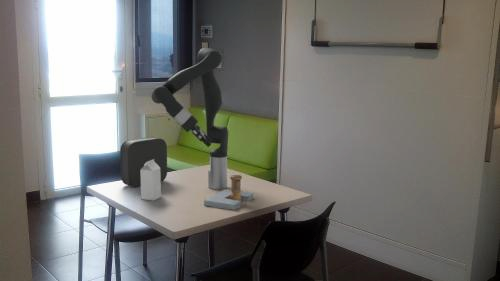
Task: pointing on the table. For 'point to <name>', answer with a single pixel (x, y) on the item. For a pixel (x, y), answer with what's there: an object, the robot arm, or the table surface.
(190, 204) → the table surface
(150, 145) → the speaker
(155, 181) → the milk carton
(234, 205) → the notched board
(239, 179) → the bobbin
